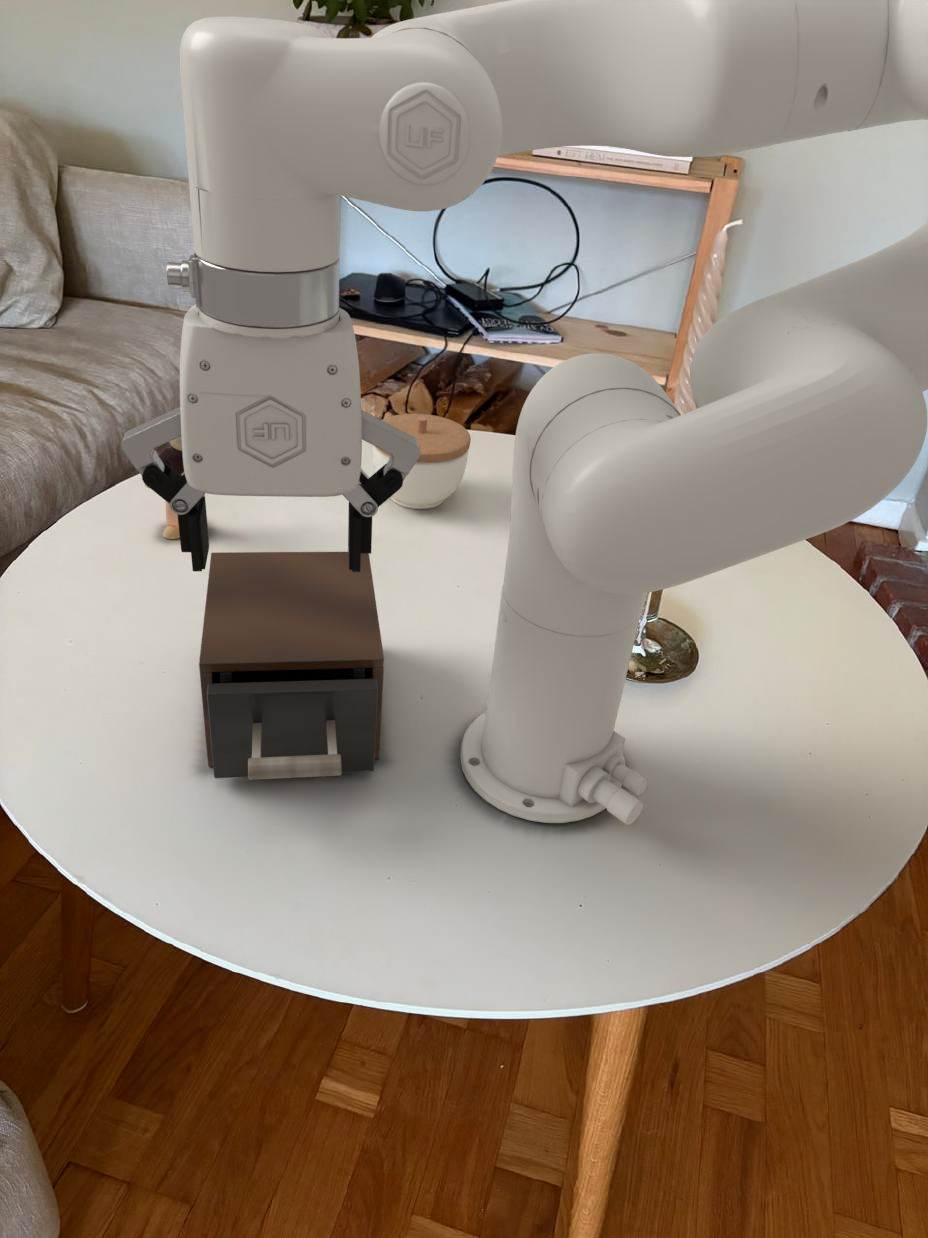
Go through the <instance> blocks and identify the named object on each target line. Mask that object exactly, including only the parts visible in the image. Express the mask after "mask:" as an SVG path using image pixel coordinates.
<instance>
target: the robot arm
mask: <svg viewBox="0 0 928 1238" xmlns="http://www.w3.org/2000/svg"><path fill="white" fill-rule="evenodd" d="M179 44H180V45H179V76H180V77H179V78H180V86H181V99H182V100H181V101H182V112H183V113H182V114H183V124H184V125H183V126H184V138H185V150H186V161H187V163H186V164H187V175H188V187H189V188H188V189H189V202H190V203H189V204H190V216H191V228H192V229H191V230H192V242H193V243H192V244H193V251H194V253H193V254H190V256H189V258H188V259H183V260H181V262H175V261H174V262H173V261H172V262H171V261H169V262H167V263H166V279H167V280H166V281H167V286H168V289H177V290H183V292H184V293H190V297H191V299H195V304H194V305H192V306H191V307H189V309H188V310H187V312H186V313H185V314H184V316H183V322H182V328H181V329H182V330H181V338H180V339H181V340H180V353H179V406H177V407H176V408H174V409H172V410H170V411H167V412H165V413H163V414H161V415H159V416H157V417H155V418H152V419H150V420H148V421H145V422H144V423H142V424H139V425H136V426H135V427H133V428H131V429H128V430H127V431H125V432H124V435H123V437H122V440H121V443H120V448H121V450H122V452H123V453H124V455H125V456H126V457H127V458H128V461H129V462H130V463H131V464H132V466H133V467H134V469H135V471H138V473H139V474H140V476H141V480H142V482H143V484H144V483H145V484H146V485H147V486H148V487H149V488H148V489H150V490H152V491H153V492H154V493H155V494H157V495H158V496H159V497H160V498H162V499H163V500H164V501H165V500H166V501H167V502H168V503H169V504H170V508H171V510H172V511H173V512H174V513H176V514H177V515H178V524H179V534H180V538H179V541H180V544H179V545H180V551H181V553H190V558H191V566H192V568H191V569H192V572H202V571H203V570H206V566H207V560H208V555H209V550H210V539H209V532H208V530H209V527H208V515H207V502H206V496H205V497H203V496H204V494H205V495H206V494H207V495H208V494H210V495H216V496H233V497H285V498H286V497H291V498H293V497H294V498H296V497H297V498H324V497H325V498H328V497H338V496H343V497H344V498H345V500H347V501H348V521H347V522H348V523H347V524H348V527H347V528H348V529H347V532H348V533H347V552H348V557H349V570H352V572H360V564H361V554H369V555H371V554H372V545H373V544H372V540H373V517H374V516H376V514H377V513H378V510H379V507H380V506H382V505H383V504H384V503H385V502H386V501H388V500H389V499H391V496H392V495H393V494H395V493H396V492H397V491H398V490H399V489H400V488H401V487H402V485H403V481H404V479H405V478H406V476H407V475H408V474H409V473H410V471H411V469H412V468H413V466H414V465H415V463H416V461H417V460H418V458H419V457H420V454H421V450H420V445H419V441H418V439H416V438H415V437H413V436H411V435H409V434H407V433H405V432H403V431H401V430H400V429H398V428H396V427H394V426H392V425H390V424H388V423H386V422H384V421H382V419H380V418H378V417H376V416H375V415H373V414H370V413H368V412H367V411H365V410H363V409H362V393H361V391H362V390H361V374H360V373H361V372H360V361H359V354H358V347H357V339H356V334H355V329H354V325H353V321H352V319H351V315H350V314H349V312H347V311H346V310H345V309H343V308H341V307H340V254H341V252H340V251H341V249H340V248H341V247H340V246H341V245H340V242H341V241H340V240H341V239H340V238H341V231H340V230H341V197H345V198H349V199H354V200H358V201H363V202H367V203H371V204H374V205H380V206H384V207H387V208H393V209H395V210H404V211H411V212H433V211H441V210H444V209H448V208H451V207H453V206H455V205H458V204H460V203H462V202H463V201H465V200H466V199H468V198H469V197H470V196H472V195H473V194H474V193H475V192H476V191H478V189H480V188H481V187H482V186H483V184H484V183H485V181H486V180H487V179H488V177H489V176H490V174H491V173H492V171H493V169H494V166H495V164H496V162H497V160H498V158H499V157H500V156H506V155H512V154H518V153H524V152H529V151H537V150H543V149H544V150H545V149H552V148H554V149H555V148H562V147H590V146H591V147H610V148H617V149H626V150H630V151H634V152H640V153H645V154H650V155H655V156H662V157H669V158H671V157H672V158H673V157H674V158H711V157H718V156H719V157H720V156H727V155H731V154H735V153H740V152H745V151H750V150H755V149H761V148H766V147H771V146H775V145H780V144H784V143H785V144H786V143H789V142H795V141H799V140H800V141H801V140H807V139H811V138H817V137H822V136H827V135H832V134H838V133H843V132H853V131H858V130H865V129H868V128H869V129H870V128H874V127H879V126H884V125H890V124H895V123H901V122H902V123H903V122H911V121H920V120H923V121H924V120H925V121H928V0H504V1H499V2H494V3H489V4H483V5H479V6H478V5H477V6H473V7H467V8H462V9H457V10H451V11H447V12H446V11H445V12H439V13H435V14H431V15H425V16H420V17H414V18H410V19H406V20H402V21H397V22H395V23H392V24H390V25H388V26H386V27H384V28H382V29H381V30H378V32H375V33H374V35H372V36H371V37H349V38H348V37H347V38H345V37H344V38H343V37H342V38H341V37H330V36H329V35H327V33H325V32H324V31H323V30H320V29H319V28H317V27H314V26H312V25H309V24H305V23H301V22H295V21H289V20H281V19H275V18H265V17H264V18H263V17H250V16H232V15H231V16H224V15H223V16H222V15H221V16H210V17H203V18H200V19H198V20H195V21H193V22H192V23H191V24H189V25H188V27H186V29H185V31H184V32H183V34H182V37H181V40H180V43H179ZM689 366H690V368H689V379H690V380H689V381H690V388H691V393H692V396H693V398H694V401H695V403H696V405H697V408H695V409H693V410H689V411H687V412H685V413H682V414H681V412H680V411H679V409H678V408H677V407H676V405H675V404H674V403H673V401H672V400H671V398H670V396H669V395H668V394H667V392H666V391H665V390H664V389H663V387H662V386H661V384H660V383H659V382H658V381H657V380H656V379H655V378H654V377H653V376H652V375H651V374H650V373H649V372H648V371H647V370H645V369H644V368H642V367H641V366H639V365H638V364H636V363H634V362H633V361H631V360H629V359H627V358H625V357H622V356H618V355H615V354H610V353H600V352H598V353H585V354H580V355H576V356H573V357H570V358H567V359H565V360H563V361H561V362H559V363H558V364H556V365H555V366H553V367H552V368H551V369H549V370H548V371H547V372H545V373H544V374H543V376H542V377H540V378H539V380H538V381H537V382H536V383H535V385H534V386H533V387H532V389H531V390H530V392H529V394H528V395H527V397H526V398H525V401H524V403H523V404H522V405H523V406H522V408H521V411H520V414H519V417H518V421H517V425H516V430H515V437H514V444H513V456H512V457H513V458H512V459H513V460H512V478H511V479H512V481H511V505H510V507H511V508H510V520H509V521H510V522H509V533H508V540H507V541H508V542H507V552H506V560H505V568H504V574H503V575H504V576H503V584H502V587H501V595H500V603H499V610H498V618H497V625H496V631H495V632H496V633H495V640H494V648H493V655H492V664H491V671H490V679H489V685H488V686H489V687H488V693H487V702H486V710H485V711H484V712H482V713H481V714H480V715H478V716H477V717H476V718H475V719H473V721H472V722H471V723H470V724H469V725H468V727H467V728H466V730H465V732H464V734H463V737H462V740H461V745H460V755H459V756H460V765H461V770H462V772H463V774H464V777H465V779H466V781H467V782H468V784H469V785H470V786H471V787H472V789H473V790H474V792H475V793H477V794H478V795H479V796H480V797H481V798H482V799H483V800H484V801H486V802H487V803H489V804H491V806H493V807H495V808H496V809H498V810H499V811H502V812H504V813H507V814H508V815H511V816H513V817H517V818H520V819H524V820H527V821H531V822H537V823H544V824H565V823H570V822H571V823H573V822H579V821H581V820H585V819H587V818H591V817H593V816H595V815H597V814H599V813H601V812H603V811H604V810H605V809H606V811H607V812H608V813H609V814H611V815H612V816H613V817H615V818H616V819H618V820H619V821H621V822H622V823H624V824H625V825H626V826H630V825H632V824H634V822H635V821H636V820H637V819H638V818H639V816H640V815H641V813H642V811H643V809H644V802H643V801H642V800H640V799H639V798H637V797H638V796H641V795H642V794H643V793H644V792H645V790H646V789H647V788H648V784H649V780H648V779H647V778H645V777H644V776H642V775H641V774H639V773H638V772H637V771H635V770H634V769H630V768H629V767H628V766H626V758H625V755H624V753H623V750H624V746H625V743H626V738H625V737H624V736H623V735H621V734H619V733H618V732H616V731H615V727H616V722H617V717H618V713H619V709H620V706H621V701H622V696H623V693H624V688H625V684H626V680H627V675H628V671H629V666H630V662H631V657H632V654H633V649H634V645H635V641H636V637H637V631H638V628H639V624H640V619H641V615H642V613H643V609H644V605H645V600H646V596H647V593H654V592H657V591H658V592H659V591H663V590H665V589H670V588H673V587H677V586H680V585H683V584H686V583H689V582H692V581H694V580H699V579H701V578H703V577H706V576H709V575H711V574H714V573H717V572H720V571H724V570H727V569H729V568H731V567H734V566H737V565H740V564H742V563H745V562H748V561H751V560H753V559H756V558H759V557H762V556H764V555H766V554H771V553H772V552H775V551H778V550H781V549H784V548H786V547H789V546H792V545H794V544H797V543H800V542H803V541H805V540H807V539H808V540H809V539H811V538H813V537H816V536H819V535H821V534H824V533H827V532H829V531H832V530H835V529H836V528H839V527H842V526H844V525H845V524H847V523H850V522H852V521H854V520H855V519H857V518H859V517H860V516H862V515H864V514H865V513H867V512H868V511H870V510H871V509H873V508H874V507H876V505H878V504H880V503H881V501H883V500H884V499H885V498H887V497H888V496H889V495H890V494H891V493H892V492H893V491H894V490H895V489H896V488H897V487H898V486H899V485H900V484H901V483H902V482H903V481H904V479H905V478H906V477H907V476H908V474H909V473H910V472H911V470H912V469H913V467H914V465H915V464H916V462H917V460H918V458H919V456H920V454H921V451H922V449H923V447H924V442H925V440H926V436H927V430H928V407H927V403H926V399H925V396H924V392H925V391H927V390H928V219H927V220H926V221H925V222H924V223H923V224H922V225H921V226H920V227H918V228H917V229H915V231H913V232H911V233H910V234H909V235H907V236H905V237H904V238H902V239H900V240H898V241H897V242H894V243H893V244H891V245H889V246H887V247H884V248H882V249H880V250H879V251H876V252H874V253H872V254H869V255H868V256H866V257H864V258H861V259H858V260H856V261H853V262H851V263H848V264H846V265H843V266H841V267H838V268H836V269H833V270H831V271H828V272H826V273H824V274H821V275H819V276H816V277H814V278H811V279H808V280H806V281H802V282H801V283H798V284H796V285H794V286H793V285H792V286H791V287H789V288H786V289H784V290H781V291H778V292H775V293H773V294H770V295H767V296H765V297H763V298H760V299H757V300H755V301H752V302H749V303H748V304H745V305H744V306H742V307H740V308H737V309H735V310H734V311H731V312H730V313H728V314H726V315H725V316H723V317H722V318H720V319H719V320H718V321H716V322H715V323H714V324H713V325H712V326H710V327H709V329H708V330H707V331H705V333H704V334H703V335H702V337H701V338H700V340H699V342H698V344H697V345H696V347H695V349H694V351H693V355H692V357H691V361H690V365H689ZM180 436H181V438H182V453H183V465H184V472H183V473H182V474H180V473H178V472H177V471H176V470H175V469H173V468H172V467H171V466H170V465H169V464H167V463H166V462H165V461H164V460H162V459H161V458H159V453H158V452H157V450H156V448H158V447H161V446H163V445H165V444H167V443H170V442H169V441H172V440H174V439H176V438H178V437H180ZM363 442H366V443H368V444H370V445H372V446H373V445H374V446H376V447H378V448H380V449H382V450H384V451H386V452H388V453H390V454H391V456H390V458H389V461H388V463H387V464H385V465H384V466H383V467H381V468H380V469H379V470H378V471H377V472H376V473H375V472H374V473H373V474H372V475H370V476H369V475H368V474H367V473H366V472H365V471H364V470H363V468H362V457H363V456H362V453H363ZM193 455H194V456H193ZM145 484H144V485H145ZM622 786H623V787H624V788H626V789H628V791H630V792H631V793H630V792H628V791H627V790H625V789H624V788H623V787H622ZM632 793H633V794H635V795H636V796H637V797H636V796H634V795H633V794H632Z"/></svg>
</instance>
